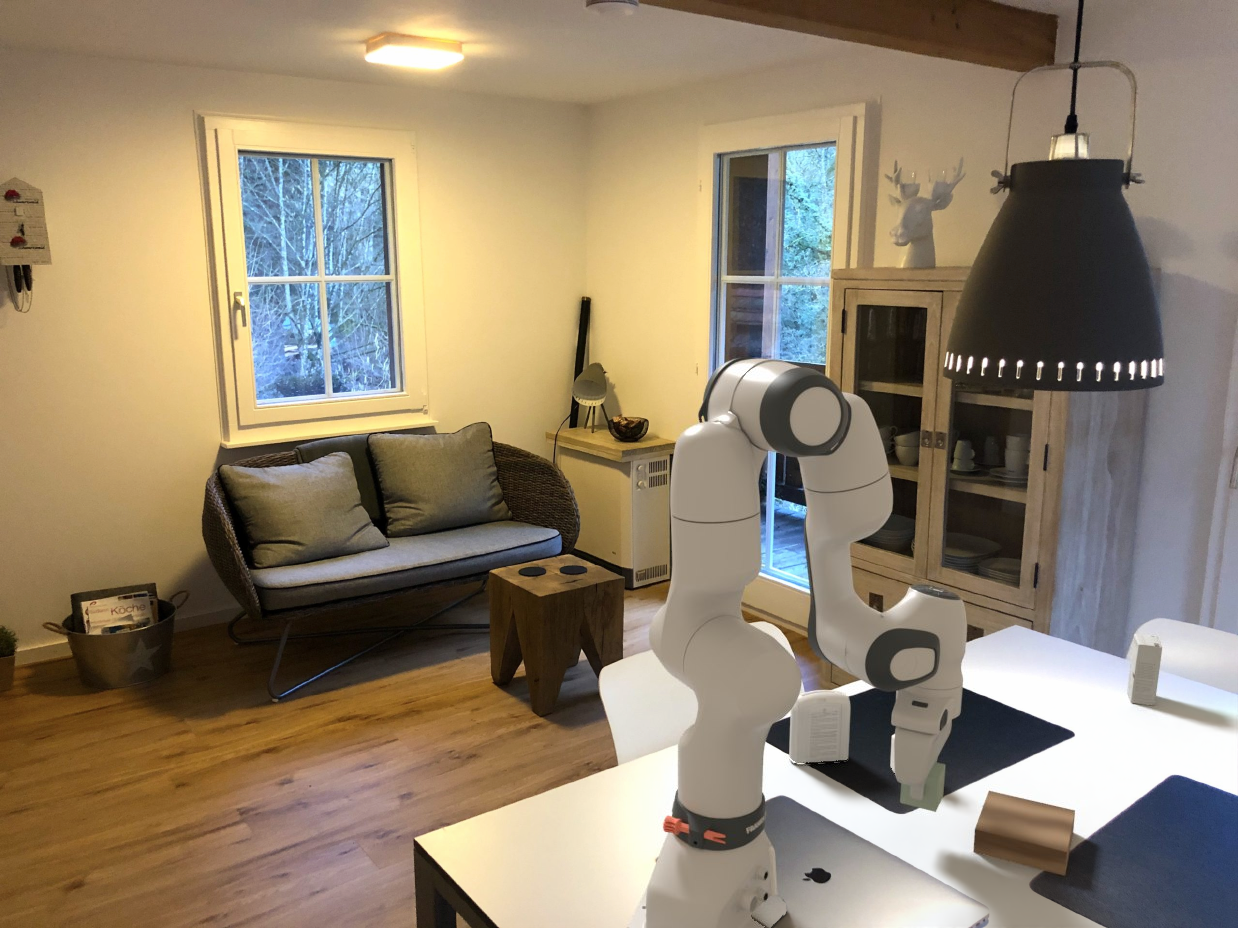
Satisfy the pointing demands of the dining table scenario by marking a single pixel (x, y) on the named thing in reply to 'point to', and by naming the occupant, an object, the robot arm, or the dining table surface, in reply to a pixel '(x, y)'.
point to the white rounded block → (820, 727)
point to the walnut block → (1025, 832)
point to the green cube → (927, 790)
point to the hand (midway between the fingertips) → (922, 786)
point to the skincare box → (1144, 669)
